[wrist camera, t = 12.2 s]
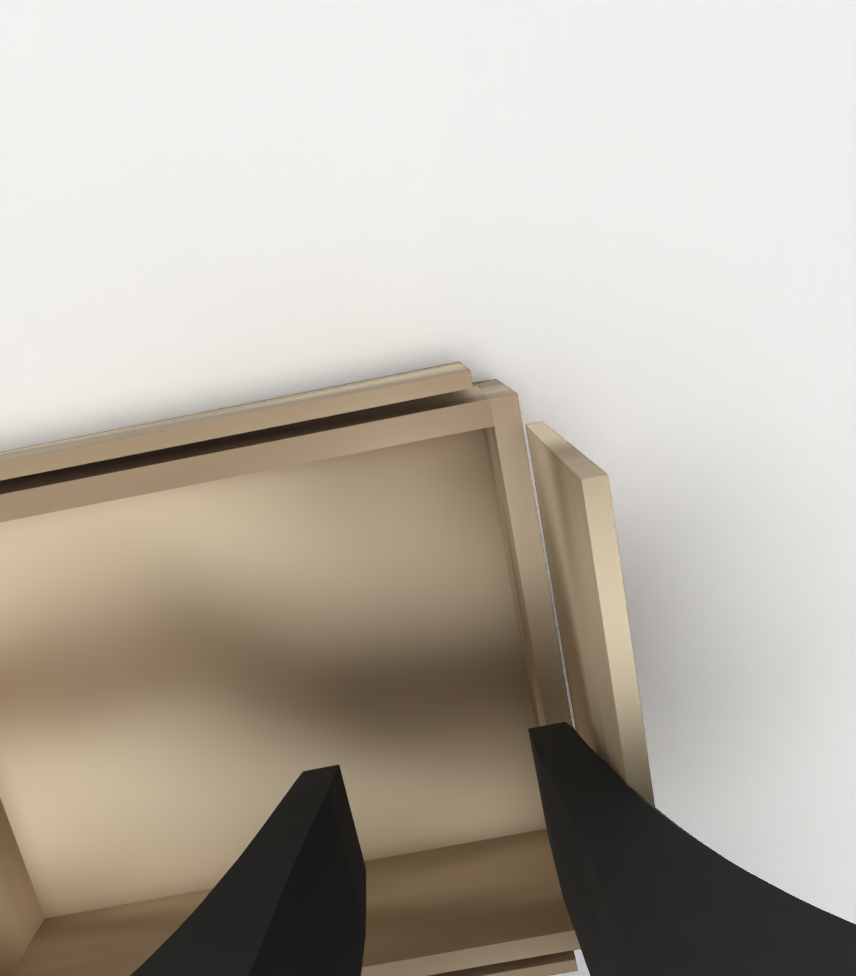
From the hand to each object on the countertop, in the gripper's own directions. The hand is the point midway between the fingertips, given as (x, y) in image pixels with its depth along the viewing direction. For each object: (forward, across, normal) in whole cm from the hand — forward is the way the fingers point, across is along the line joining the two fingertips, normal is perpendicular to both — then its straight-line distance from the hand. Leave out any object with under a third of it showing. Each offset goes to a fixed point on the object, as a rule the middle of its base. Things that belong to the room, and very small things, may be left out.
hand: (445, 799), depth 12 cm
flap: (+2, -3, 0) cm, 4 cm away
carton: (+6, +5, 0) cm, 8 cm away
